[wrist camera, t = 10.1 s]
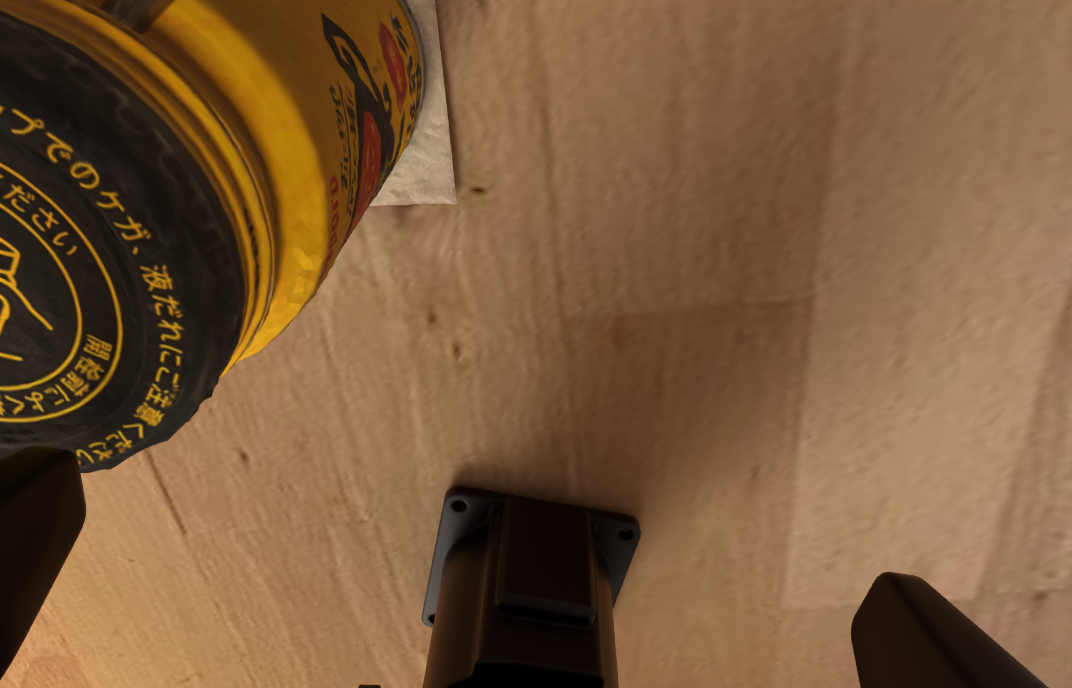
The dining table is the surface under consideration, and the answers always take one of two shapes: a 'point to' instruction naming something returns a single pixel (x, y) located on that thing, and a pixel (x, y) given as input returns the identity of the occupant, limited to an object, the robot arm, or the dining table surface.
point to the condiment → (189, 192)
